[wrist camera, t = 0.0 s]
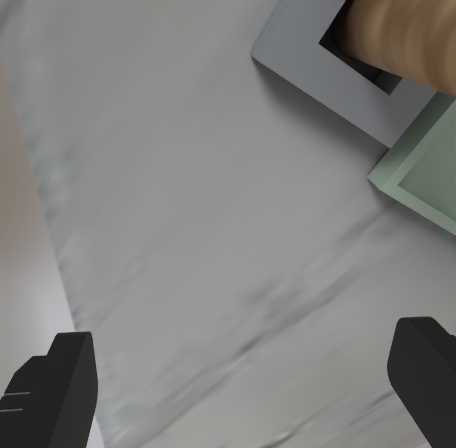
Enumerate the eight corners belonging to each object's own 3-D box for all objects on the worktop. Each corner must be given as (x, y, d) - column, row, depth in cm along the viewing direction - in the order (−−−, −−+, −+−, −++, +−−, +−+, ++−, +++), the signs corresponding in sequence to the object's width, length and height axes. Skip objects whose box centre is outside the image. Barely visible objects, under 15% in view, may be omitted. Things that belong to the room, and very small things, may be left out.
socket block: (361, -140, 22) (385, -157, 20) (489, -13, 27) (522, -14, 24) (249, 53, 27) (257, 60, 25) (373, 136, 31) (390, 148, 29)
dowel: (365, -40, 25) (536, -68, 13) (418, 6, 27) (611, 19, 15) (318, 34, 27) (429, 68, 15) (370, 73, 29) (507, 130, 17)
